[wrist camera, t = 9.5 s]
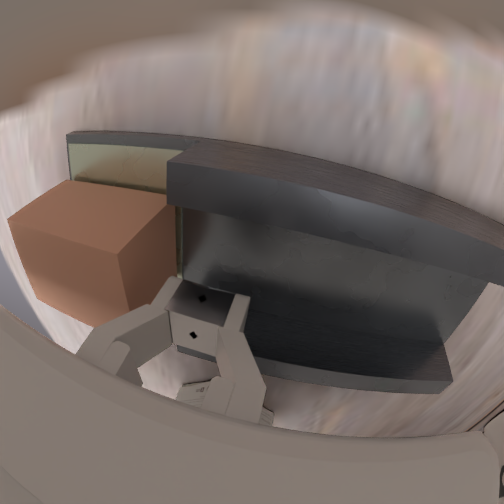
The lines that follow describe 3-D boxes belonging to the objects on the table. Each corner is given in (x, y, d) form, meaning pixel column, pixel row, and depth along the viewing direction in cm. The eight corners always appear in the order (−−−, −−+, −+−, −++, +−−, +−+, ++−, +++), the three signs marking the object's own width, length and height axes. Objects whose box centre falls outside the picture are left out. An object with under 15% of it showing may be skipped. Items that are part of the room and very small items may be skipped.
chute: (509, 228, 9) (543, 268, 7) (429, 350, 15) (439, 393, 12) (73, 131, 12) (24, 152, 9) (96, 273, 17) (67, 307, 14)
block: (175, 196, 12) (116, 254, 8) (177, 282, 14) (139, 346, 11) (66, 179, 12) (7, 219, 9) (81, 253, 15) (37, 299, 11)
